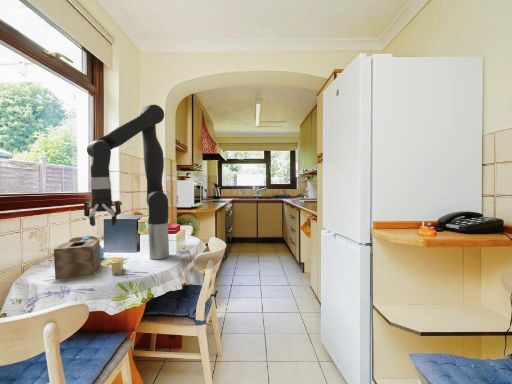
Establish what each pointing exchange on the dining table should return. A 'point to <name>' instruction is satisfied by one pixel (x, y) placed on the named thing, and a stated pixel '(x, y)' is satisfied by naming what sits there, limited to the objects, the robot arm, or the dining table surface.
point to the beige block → (117, 266)
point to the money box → (77, 258)
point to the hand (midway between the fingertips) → (103, 225)
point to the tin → (83, 237)
